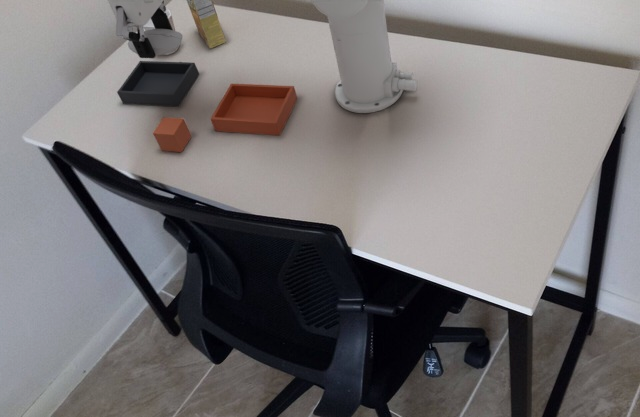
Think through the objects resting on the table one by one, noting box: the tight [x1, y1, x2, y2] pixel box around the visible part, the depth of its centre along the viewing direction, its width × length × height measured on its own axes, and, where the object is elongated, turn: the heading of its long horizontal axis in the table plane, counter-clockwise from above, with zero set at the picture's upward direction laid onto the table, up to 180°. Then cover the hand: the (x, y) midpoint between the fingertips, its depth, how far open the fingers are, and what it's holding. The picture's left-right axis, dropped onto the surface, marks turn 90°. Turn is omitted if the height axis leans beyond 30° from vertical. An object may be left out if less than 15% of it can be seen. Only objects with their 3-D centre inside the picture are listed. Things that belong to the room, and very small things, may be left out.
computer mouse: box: [127, 29, 183, 56], centre depth 117 cm, size 6×10×3 cm, turn 87°
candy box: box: [186, 0, 227, 50], centre depth 137 cm, size 9×4×15 cm, turn 25°
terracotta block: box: [152, 116, 192, 153], centre depth 119 cm, size 4×4×4 cm
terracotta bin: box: [210, 83, 298, 136], centre depth 121 cm, size 13×10×3 cm
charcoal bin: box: [116, 60, 200, 108], centre depth 132 cm, size 13×10×3 cm
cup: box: [143, 8, 180, 56], centre depth 140 cm, size 7×10×8 cm
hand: (156, 43), depth 118 cm, fingers closed on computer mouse, 6 cm apart
